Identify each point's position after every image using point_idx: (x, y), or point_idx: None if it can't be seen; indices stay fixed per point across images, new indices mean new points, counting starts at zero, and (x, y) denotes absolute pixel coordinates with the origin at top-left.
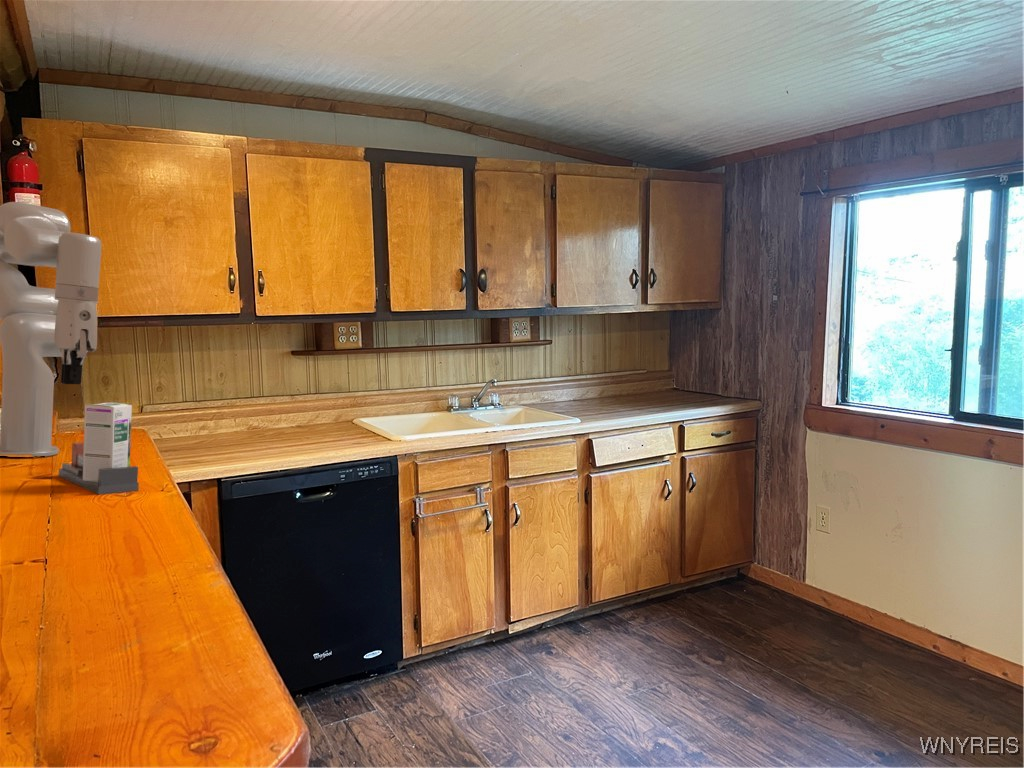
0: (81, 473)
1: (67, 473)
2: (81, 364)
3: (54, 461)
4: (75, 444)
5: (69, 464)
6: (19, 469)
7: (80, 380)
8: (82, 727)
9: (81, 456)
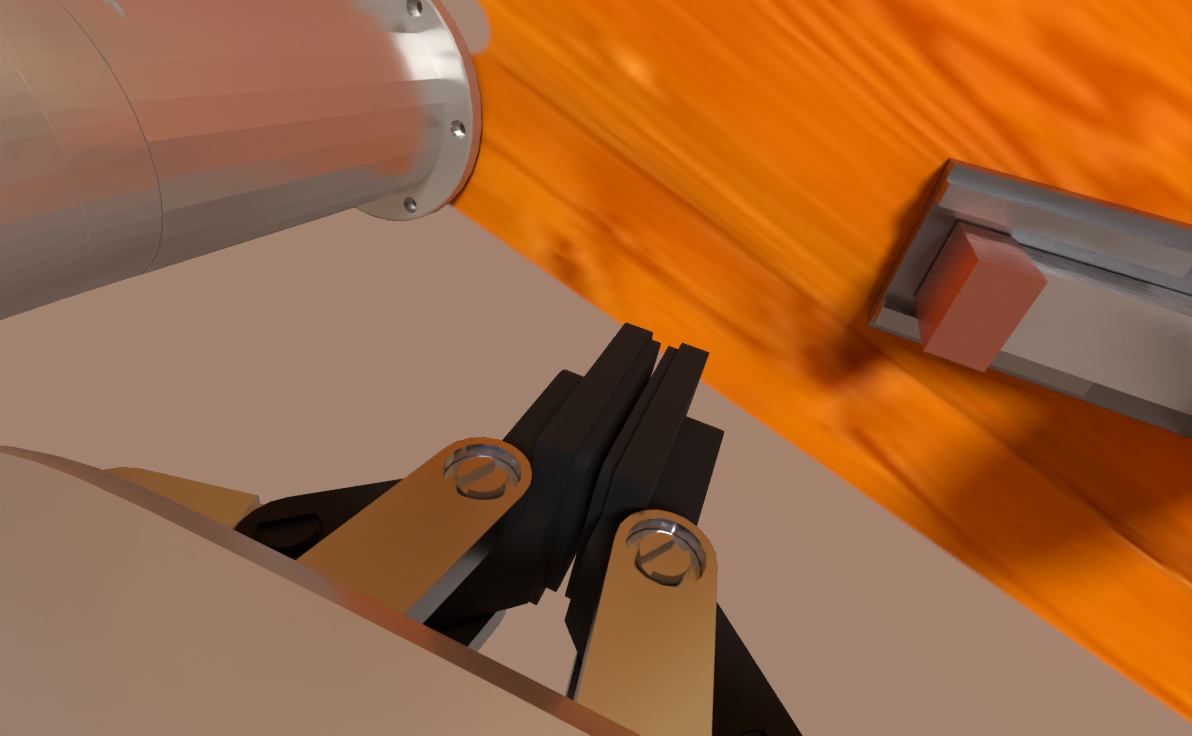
0: None
1: None
2: (702, 553)
3: (576, 114)
4: (969, 366)
5: None
6: (649, 308)
7: (701, 372)
8: None
9: (1043, 364)
